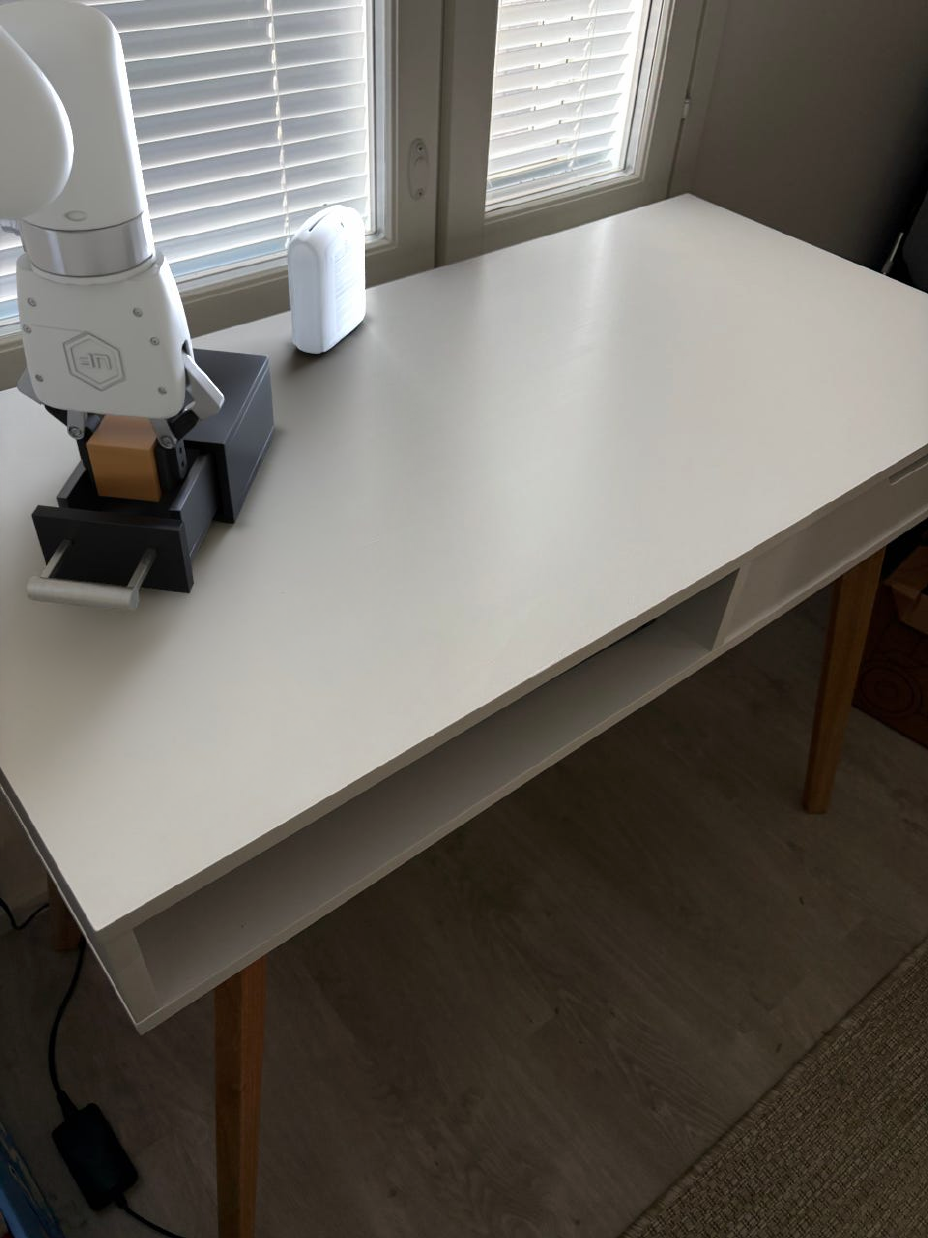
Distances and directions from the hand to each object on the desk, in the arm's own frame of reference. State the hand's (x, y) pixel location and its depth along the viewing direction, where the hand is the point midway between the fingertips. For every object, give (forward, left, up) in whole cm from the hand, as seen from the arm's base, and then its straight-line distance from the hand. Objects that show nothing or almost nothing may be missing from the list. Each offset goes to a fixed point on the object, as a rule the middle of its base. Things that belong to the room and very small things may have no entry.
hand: (138, 477), depth 75 cm
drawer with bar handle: (-3, -2, -5) cm, 6 cm away
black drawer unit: (+9, +5, -6) cm, 12 cm away
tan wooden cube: (0, 0, 0) cm, 0 cm away
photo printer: (+35, +12, -6) cm, 37 cm away
